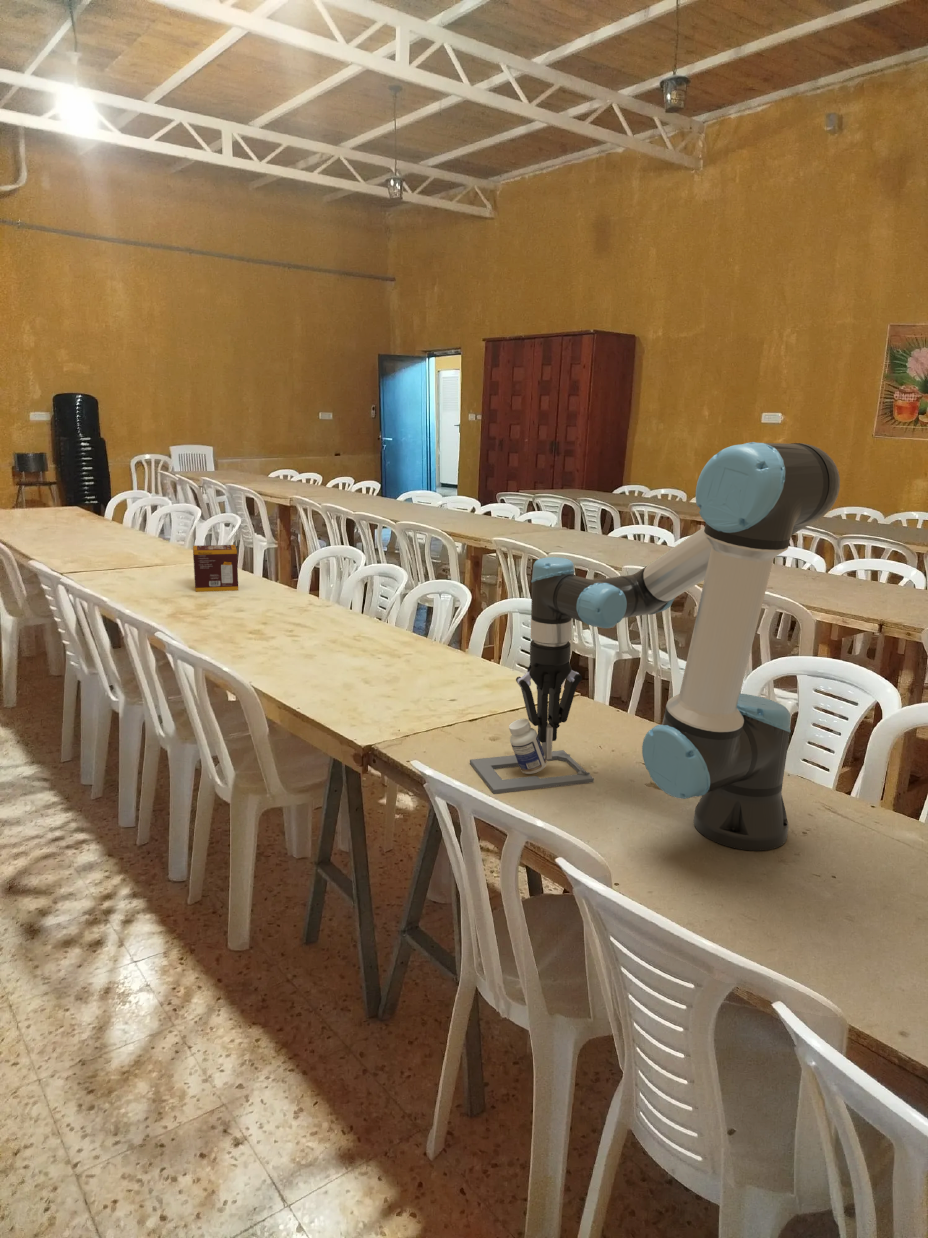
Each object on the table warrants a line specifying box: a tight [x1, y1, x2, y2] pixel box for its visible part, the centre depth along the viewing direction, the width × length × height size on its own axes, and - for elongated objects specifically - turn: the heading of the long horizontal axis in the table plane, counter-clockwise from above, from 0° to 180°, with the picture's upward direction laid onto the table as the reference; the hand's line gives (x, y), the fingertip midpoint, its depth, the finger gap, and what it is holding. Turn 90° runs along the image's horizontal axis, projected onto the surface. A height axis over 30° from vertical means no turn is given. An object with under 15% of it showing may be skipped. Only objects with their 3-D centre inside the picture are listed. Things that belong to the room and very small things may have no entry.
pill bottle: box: [508, 718, 548, 775], centre depth 162 cm, size 5×5×10 cm
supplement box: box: [192, 544, 239, 593], centre depth 314 cm, size 10×15×16 cm
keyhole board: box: [469, 749, 595, 795], centre depth 163 cm, size 14×20×1 cm
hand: (546, 756), depth 165 cm, fingers closed
